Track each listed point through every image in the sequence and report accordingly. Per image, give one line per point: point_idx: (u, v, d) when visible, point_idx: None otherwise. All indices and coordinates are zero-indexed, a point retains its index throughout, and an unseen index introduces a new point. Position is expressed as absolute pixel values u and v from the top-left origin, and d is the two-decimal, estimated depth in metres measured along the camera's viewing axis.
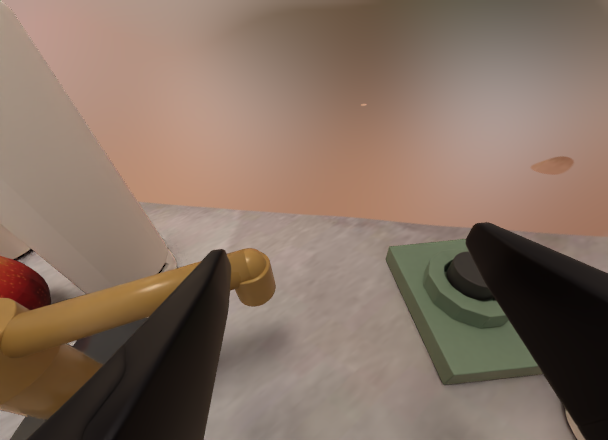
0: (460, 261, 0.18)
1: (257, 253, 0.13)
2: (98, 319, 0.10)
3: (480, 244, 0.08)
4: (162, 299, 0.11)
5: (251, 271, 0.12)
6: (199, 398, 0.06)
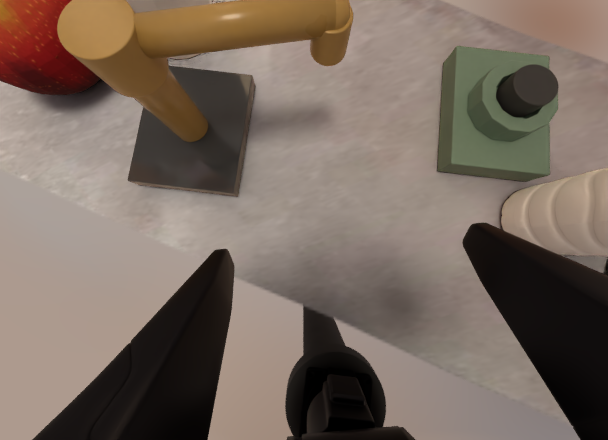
0: (523, 73, 0.18)
1: None
2: (207, 35, 0.12)
3: (477, 244, 0.08)
4: (258, 29, 0.12)
5: (338, 19, 0.12)
6: (203, 398, 0.06)
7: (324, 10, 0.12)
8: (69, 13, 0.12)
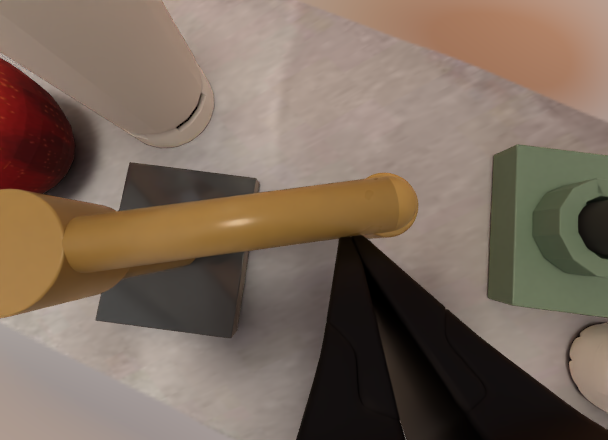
0: None
1: (414, 196, 0.07)
2: (186, 255, 0.07)
3: None
4: (269, 244, 0.07)
5: (399, 226, 0.08)
6: None
7: (379, 220, 0.07)
8: None
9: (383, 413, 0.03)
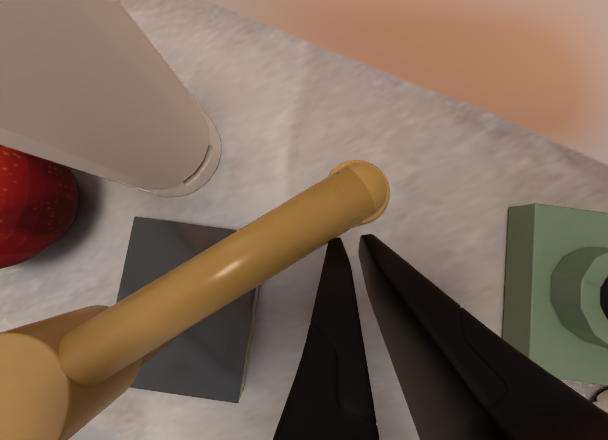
0: None
1: (379, 175, 0.07)
2: (190, 324, 0.07)
3: (363, 256, 0.08)
4: (265, 277, 0.07)
5: (377, 208, 0.08)
6: None
7: (356, 211, 0.07)
8: None
9: (359, 416, 0.03)
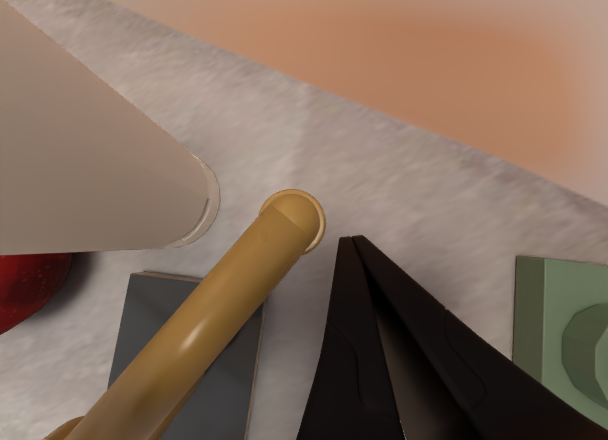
0: None
1: (303, 204, 0.07)
2: (160, 418, 0.07)
3: None
4: (222, 344, 0.07)
5: (313, 235, 0.07)
6: None
7: (291, 248, 0.07)
8: None
9: (383, 413, 0.03)
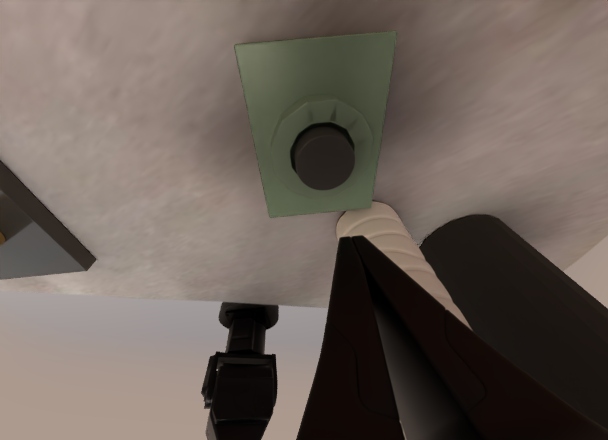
0: (307, 154, 0.13)
1: None
2: None
3: None
4: None
5: None
6: None
7: None
8: None
9: (383, 413, 0.03)
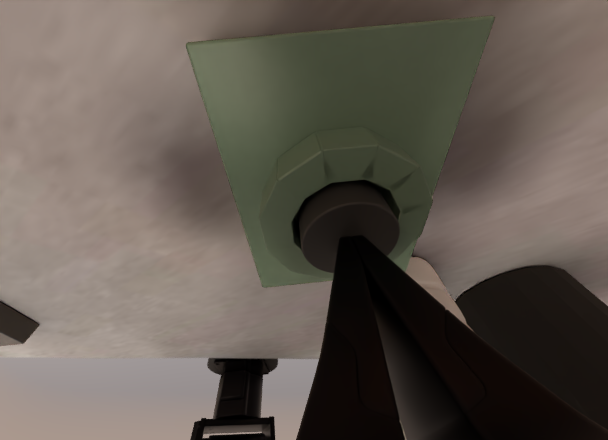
0: (321, 230, 0.08)
1: None
2: None
3: None
4: None
5: None
6: None
7: None
8: None
9: (383, 413, 0.03)
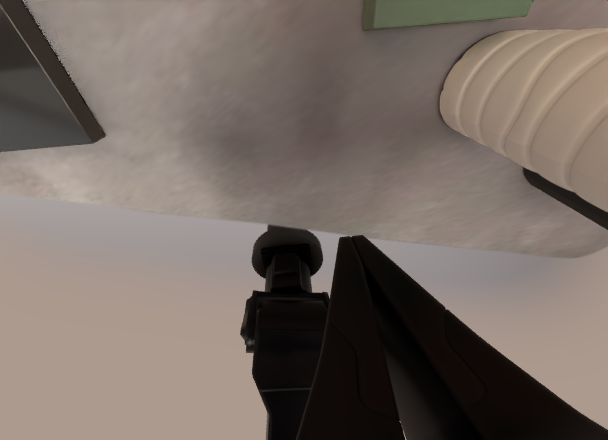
0: None
1: None
2: None
3: None
4: None
5: None
6: None
7: None
8: None
9: (383, 413, 0.03)
